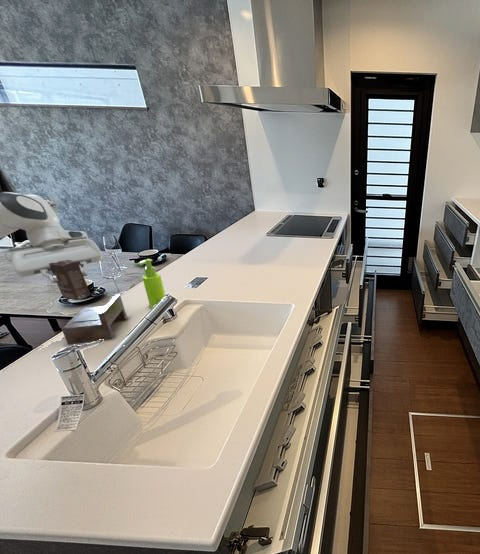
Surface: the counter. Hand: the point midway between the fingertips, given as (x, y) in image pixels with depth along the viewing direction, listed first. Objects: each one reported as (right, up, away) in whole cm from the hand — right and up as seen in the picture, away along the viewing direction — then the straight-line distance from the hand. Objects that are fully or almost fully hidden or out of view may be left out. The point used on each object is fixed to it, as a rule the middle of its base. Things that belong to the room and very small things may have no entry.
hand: (70, 278), depth 95 cm
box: (-1, -6, +3) cm, 7 cm away
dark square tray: (-1, -18, +12) cm, 22 cm away
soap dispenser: (+7, -11, +29) cm, 32 cm away
